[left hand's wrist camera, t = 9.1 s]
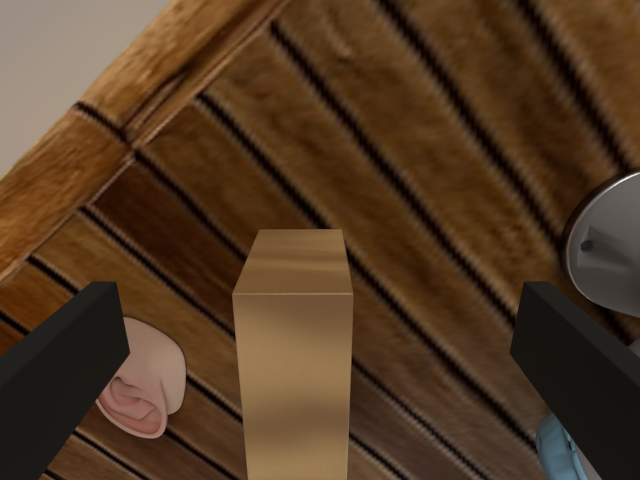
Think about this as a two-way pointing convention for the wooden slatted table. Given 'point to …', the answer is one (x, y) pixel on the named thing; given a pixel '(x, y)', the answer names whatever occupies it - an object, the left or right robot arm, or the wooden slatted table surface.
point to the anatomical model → (145, 382)
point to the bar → (295, 354)
